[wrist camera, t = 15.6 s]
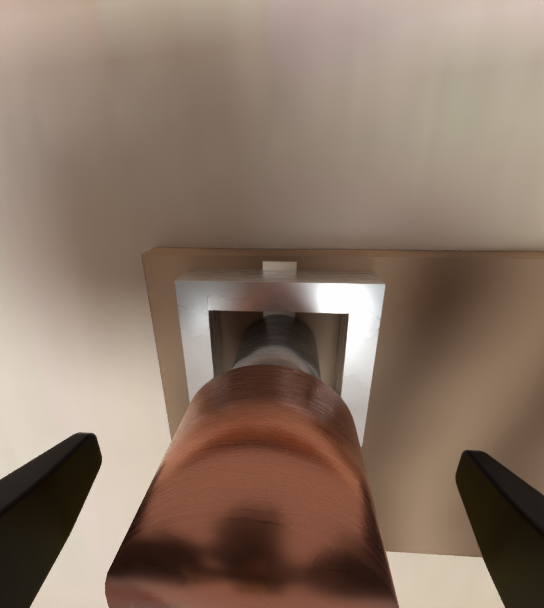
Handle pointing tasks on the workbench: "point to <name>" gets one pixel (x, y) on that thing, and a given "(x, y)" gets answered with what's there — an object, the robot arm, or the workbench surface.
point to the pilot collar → (284, 298)
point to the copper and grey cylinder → (259, 494)
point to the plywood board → (406, 370)
